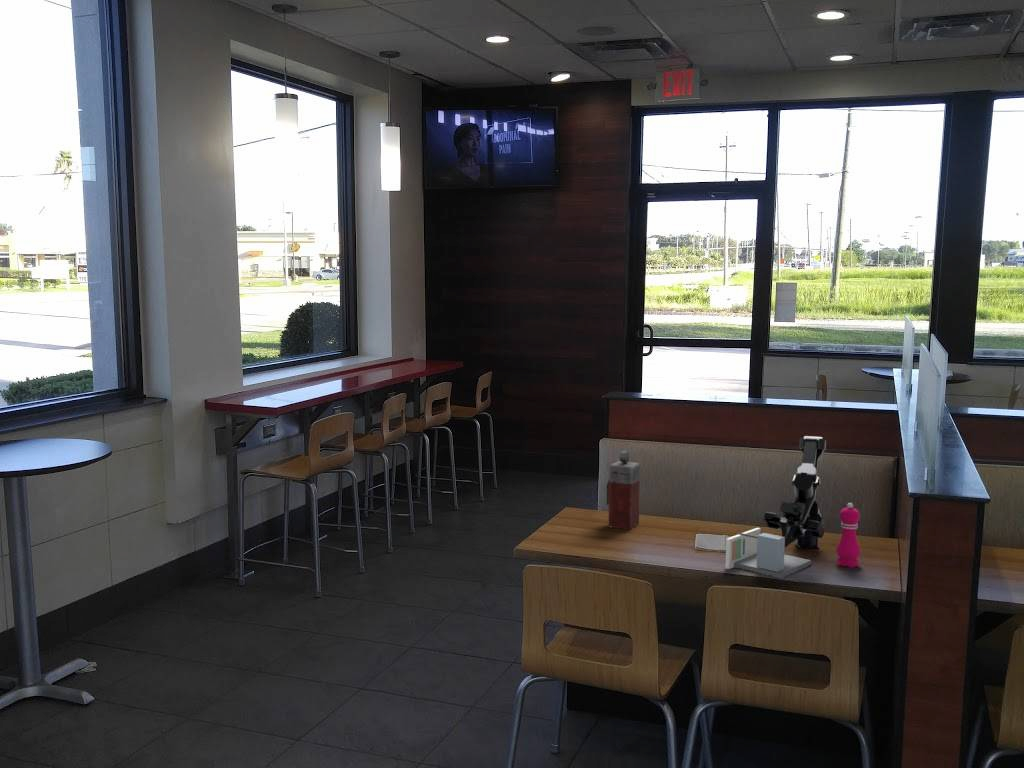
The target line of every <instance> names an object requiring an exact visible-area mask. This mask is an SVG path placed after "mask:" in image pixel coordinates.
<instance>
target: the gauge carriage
mask: <svg viewBox="0 0 1024 768" xmlns="http://www.w3.org/2000/svg"><path fill="white" fill-rule="evenodd" d="M743 533H744V532H738V534H739V535H743V536H748V537H753V538H757V567H759V568H763V569H767V570H771V571H776V572H778V571H781V570H783V569H784V554H785V549H786V547H785V537H782V535H776V534H771V533H767V532H763V533H760V534H759V535H757V536H753V535H748V534H743Z"/></svg>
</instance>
